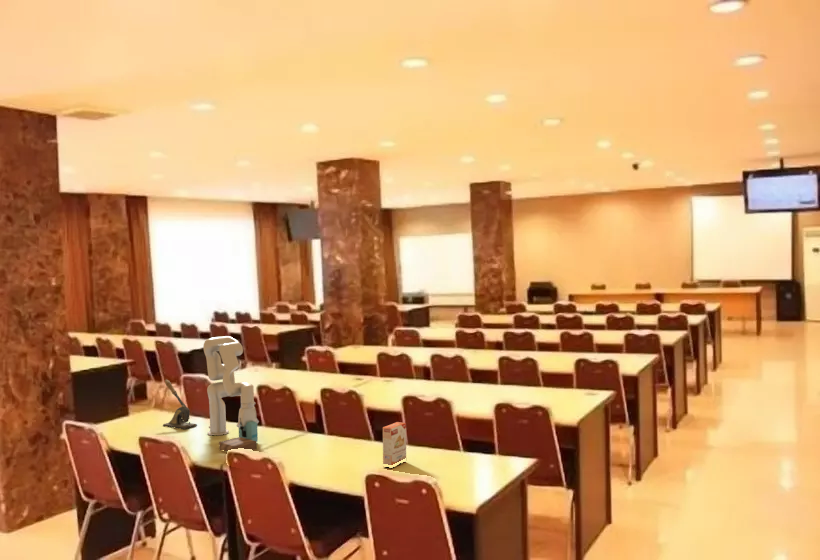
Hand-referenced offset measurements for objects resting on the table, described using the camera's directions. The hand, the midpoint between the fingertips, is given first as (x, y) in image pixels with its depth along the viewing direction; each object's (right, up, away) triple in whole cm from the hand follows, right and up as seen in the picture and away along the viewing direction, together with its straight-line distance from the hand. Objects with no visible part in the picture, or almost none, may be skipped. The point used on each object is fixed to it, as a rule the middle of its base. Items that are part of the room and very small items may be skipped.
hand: (248, 435), depth 422 cm
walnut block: (-2, -5, -16) cm, 17 cm away
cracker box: (+88, -4, -53) cm, 103 cm away
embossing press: (-55, -4, +46) cm, 72 cm away
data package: (0, -4, 0) cm, 4 cm away
